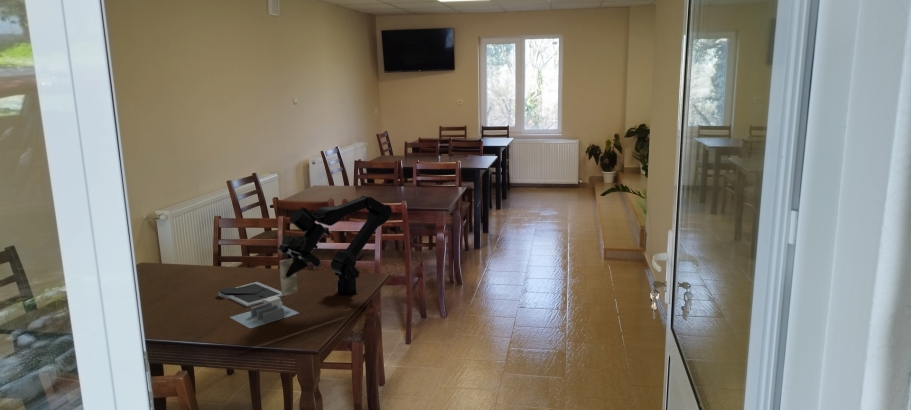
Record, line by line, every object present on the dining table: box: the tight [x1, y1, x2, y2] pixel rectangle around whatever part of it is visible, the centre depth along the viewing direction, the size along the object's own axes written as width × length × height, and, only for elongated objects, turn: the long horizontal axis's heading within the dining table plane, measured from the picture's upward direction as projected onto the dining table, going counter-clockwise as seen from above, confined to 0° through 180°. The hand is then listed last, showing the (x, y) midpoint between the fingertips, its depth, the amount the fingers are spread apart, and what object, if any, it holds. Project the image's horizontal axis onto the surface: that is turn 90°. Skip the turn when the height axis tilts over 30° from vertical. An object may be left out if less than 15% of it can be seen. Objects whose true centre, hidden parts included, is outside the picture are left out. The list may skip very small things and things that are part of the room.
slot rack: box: [229, 302, 299, 329], centre depth 203 cm, size 18×14×4 cm
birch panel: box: [278, 258, 298, 297], centre depth 208 cm, size 5×2×12 cm, turn 136°
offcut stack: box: [262, 296, 284, 307], centre depth 210 cm, size 5×4×3 cm
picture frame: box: [217, 281, 285, 308], centre depth 223 cm, size 16×3×21 cm
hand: (284, 276), depth 207 cm, fingers closed on birch panel, 2 cm apart
